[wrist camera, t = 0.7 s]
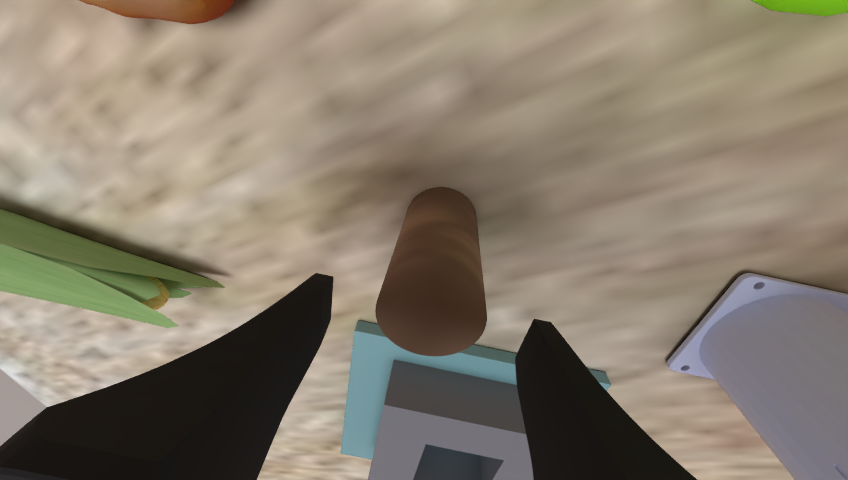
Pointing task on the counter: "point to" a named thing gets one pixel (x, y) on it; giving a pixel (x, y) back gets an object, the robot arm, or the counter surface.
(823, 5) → the wineglass
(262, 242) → the counter surface
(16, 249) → the edible corn
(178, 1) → the fruit
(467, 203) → the peg
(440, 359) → the socket board
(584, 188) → the counter surface
